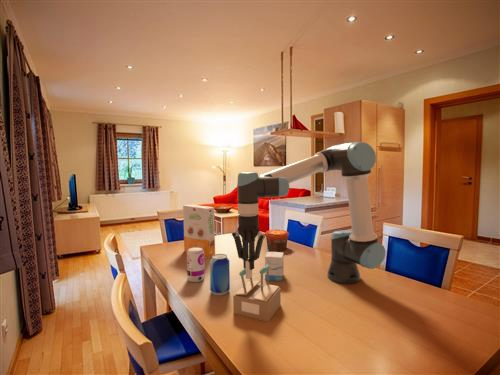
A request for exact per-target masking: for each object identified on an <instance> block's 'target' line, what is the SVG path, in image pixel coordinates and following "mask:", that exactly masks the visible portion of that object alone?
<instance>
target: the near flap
mask: <svg viewBox="0 0 500 375" xmlns="http://www.w3.org/2000/svg"><path fill="white" fill-rule="evenodd" d="M269 268H270V266H269V265H266V266H265V265H264V266H263V267H262V268H261V269H260V270H259V274H260V284H261V291H260V292H259V293H258V294H257V295H256V296H255V297H254V299H256V300H260V301H265V302H267V301H268V300H269V299H270V297H271V296H272V295H273V294H274V293H275V291H276V290H277V289H278V288H280V286H279V285H274V284H270V280H269ZM266 271H267V280H266V284H265V285H266V286H265V287H264V288H263V285H264V275H265V272H266Z"/></svg>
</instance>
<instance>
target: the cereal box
mask: <svg viewBox="0 0 500 375" xmlns="http://www.w3.org/2000/svg"><path fill="white" fill-rule="evenodd" d="M182 215H183V217H182V218H183V243H184V244H183V248H184V251H183V252H186V253H187V251H188V249H189V248H193V247H200V248H202V249H203V251H204V259H208V258H212V256H213V255H215V254H216V240H215V239H216V237H215V236H216V234H215V233H216V231H215V230H216V229H215V227H216V226H215V225H216V224H215V207H213V206H206V205H205V206H204V205H198V204H183V205H182Z"/></svg>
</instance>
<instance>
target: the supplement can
mask: <svg viewBox="0 0 500 375" xmlns="http://www.w3.org/2000/svg"><path fill="white" fill-rule="evenodd" d="M186 270H187V271H186V273H187V275H186V276H187V277H186V278H187V280H188V281H189V282H190V283H199V282H202V281H203V280H204V279H205V257H204V251H203V249H202V248H200V247H193V248H189V249H188V251H187V252H186Z"/></svg>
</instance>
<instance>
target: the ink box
mask: <svg viewBox="0 0 500 375" xmlns="http://www.w3.org/2000/svg"><path fill="white" fill-rule="evenodd" d="M284 254H285V253H284V252H282V251H281V252H279V251H267V252H266V254H265V256H264V267H265V266H266V265H269V266H270V268H269V281H277V282H282V281H283V278H284V274H285V273H284V272H285V271H284V268H285V266H284ZM264 280H265V281H267V271H266V272H265V273H264Z"/></svg>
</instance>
